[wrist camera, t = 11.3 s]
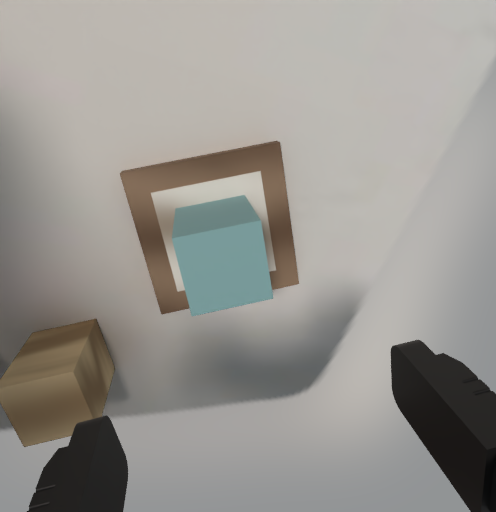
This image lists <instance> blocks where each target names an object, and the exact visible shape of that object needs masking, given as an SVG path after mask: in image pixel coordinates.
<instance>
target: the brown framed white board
mask: <svg viewBox="0 0 496 512" xmlns="http://www.w3.org/2000/svg"><path fill="white" fill-rule="evenodd" d="M120 176H121V179H122V183H123V186H124V190H125V193H126V196H127V200H128V203H129V206H130V210H131V213H132V216H133V220H134V223H135V227H136V230H137V233H138V237H139V240H140V243H141V247H142V250H143V253H144V257H145V260H146V263H147V267H148V270H149V274H150V277H151V280H152V284H153V287H154V290H155V294H156V297H157V300H158V304H159V307H160V311H161V314H166V313H170V312H175V311H179V310H184V309H188V308H190V307H189V303H188V300H187V296H186V292H185V288H184V284H183V280H182V276H181V272H180V269H179V265H178V261H177V257H176V253H175V249H174V245H173V241H172V232H173V224H174V216H175V209H176V208H181V207H186V206H191V205H196V204H201V203H206V202H211V201H216V200H221V199H226V198H231V197H236V196H241V195H245V196H246V198H247V199H248V201H249V202H250V204H251V206H252V207H253V209H254V210H255V212H256V213H257V215H258V217H259V218H260V220H261V224H262V231H263V237H264V243H265V249H266V256H267V262H268V268H269V274H270V280H271V287H272V290H274V289H278V288H283V287H287V286H291V285H296V284H299V281H298V273H297V266H296V258H295V251H294V243H293V236H292V229H291V221H290V214H289V206H288V199H287V191H286V184H285V176H284V169H283V162H282V154H281V147H280V142H278V141H274V142H269V143H264V144H259V145H253V146H248V147H243V148H238V149H233V150H228V151H223V152H217V153H212V154H207V155H202V156H197V157H192V158H187V159H182V160H176V161H171V162H166V163H161V164H156V165H151V166H146V167H141V168H135V169H130V170H125V171H122V172H121V173H120Z"/></svg>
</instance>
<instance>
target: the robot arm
mask: <svg viewBox="0 0 496 512" xmlns="http://www.w3.org/2000/svg"><path fill="white" fill-rule="evenodd" d="M391 373H392V391H393V395H394V398H395V401H396V403H397V405H398V407H399V409H400V411H401V412H402V414H403V415H404V417H405V418H406V419H407V421H408V422H409V424H410V425H411V427H412V428H413V429H414V431H415V432H416V434H417V435H418V436H419V438H420V439H421V441H422V442H423V444H424V445H425V447H426V448H427V450H428V451H429V452H430V454H431V455H432V457H433V458H434V459H435V461H436V462H437V464H438V465H439V467H440V468H441V470H442V471H443V472H444V474H445V475H446V477H447V478H448V479H449V481H450V482H451V484H452V485H453V487H454V488H455V490H456V491H457V492H458V494H459V495H460V497H461V498H462V499H463V501H464V502H465V504H466V505H467V507H468V508H469V510H470V511H471V512H496V394H495V393H494V392H493V391H490V389H489V387H488V386H487V385H485V383H483V382H482V381H481V380H478V378H477V376H476V375H475V374H474V373H473V372H472V371H471V370H470V369H469V368H468V367H466V366H465V365H464V364H463V363H462V362H460V361H458V360H456V359H454V358H452V357H450V356H448V355H446V354H444V353H442V354H438V355H435V354H434V353H433V352H432V351H431V350H430V349H429V348H428V347H427V346H426V345H425V344H424V343H423V342H422V341H420V340H415V341H411V342H407V343H403V344H399V345H395V346H392V348H391ZM127 481H128V466H127V460H126V456H125V453H124V451H123V448H122V446H121V443H120V441H119V439H118V436H117V434H116V432H115V429H114V427H113V424H112V422H111V420H110V418H109V417H108V416H103V417H99V418H95V419H91V420H87V421H83V422H79V423H77V424H76V426H75V428H74V431H73V434H72V437H71V440H70V443H69V446H67V447H64V448H59V449H58V450H57V451H56V453H55V454H54V455H53V457H52V458H51V459H50V460H49V462H48V463H47V464H46V466H45V467H44V468H43V471H42V474H41V476H40V479H39V481H38V484H37V487H36V493H34V494H33V497H32V500H31V502H30V505H29V511H27V512H123V508H124V501H125V494H126V488H127Z"/></svg>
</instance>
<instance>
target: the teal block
mask: <svg viewBox="0 0 496 512" xmlns="http://www.w3.org/2000/svg"><path fill="white" fill-rule="evenodd" d="M172 241H173V245H174V249H175V253H176V257H177V261H178V265H179V269H180V272H181V276H182V280H183V284H184V288H185V292H186V296H187V300H188V303H189V307H190V311H191V315H192V316H196V315H200V314H205V313H209V312H214V311H219V310H223V309H228V308H232V307H237V306H241V305H246V304H250V303H255V302H259V301H264V300H269V299H273V293H272V287H271V280H270V274H269V268H268V262H267V256H266V249H265V243H264V237H263V231H262V224H261V220H260V218H259V217H258V215H257V213H256V212H255V210H254V209H253V207H252V206H251V204H250V202H249V201H248V199H247V198H246V196H245V195H241V196H236V197H231V198H226V199H221V200H216V201H211V202H206V203H201V204H196V205H191V206H186V207H181V208H176V209H175V216H174V224H173V232H172Z"/></svg>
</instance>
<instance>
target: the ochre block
mask: <svg viewBox="0 0 496 512" xmlns="http://www.w3.org/2000/svg"><path fill="white" fill-rule="evenodd" d="M114 370H115V368H114V365H113V363H112V360H111V357H110V355H109V352H108V349H107V347H106V344H105V341H104V339H103V336H102V333H101V331H100V328H99V325H98V323H97V320H96V319H93V320H88V321H84V322H79V323H75V324H70V325H65V326H61V327H56V328H52V329H47V330H43V331H38V332H34V333H32V334H31V336H30V337H29V339H28V340H27V341H26V343H25V344H24V346H23V347H22V349H21V350H20V352H19V353H18V355H17V356H16V357H15V359H14V360H13V362H12V363H11V365H10V366H9V368H8V369H7V371H6V372H5V373H4V375H3V376H2V378H1V379H0V403H1V405H2V407H3V409H4V411H5V413H6V414H7V416H8V418H9V420H10V422H11V424H12V426H13V427H14V429H15V431H16V433H17V435H18V436H19V439H20V440H21V442H22V444H23V446H24V447H26V446H31V445H35V444H39V443H43V442H47V441H52V440H55V439H60V438H64V437H68V436H72V434H73V431H74V428H75V426H76V424H77V423H79V422H83V421H87V420H91V419H95V418H99V417H101V416H102V413H103V409H104V406H105V402H106V399H107V395H108V392H109V388H110V384H111V381H112V377H113V374H114Z"/></svg>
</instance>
